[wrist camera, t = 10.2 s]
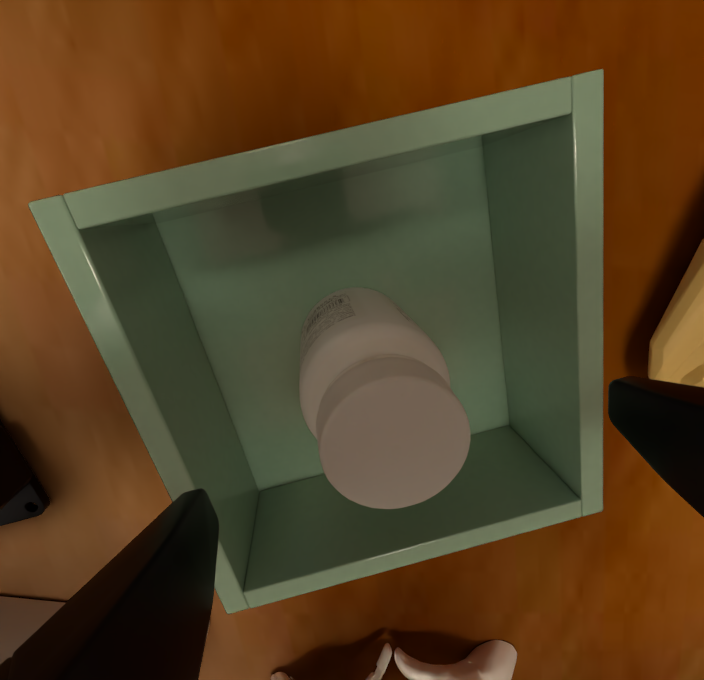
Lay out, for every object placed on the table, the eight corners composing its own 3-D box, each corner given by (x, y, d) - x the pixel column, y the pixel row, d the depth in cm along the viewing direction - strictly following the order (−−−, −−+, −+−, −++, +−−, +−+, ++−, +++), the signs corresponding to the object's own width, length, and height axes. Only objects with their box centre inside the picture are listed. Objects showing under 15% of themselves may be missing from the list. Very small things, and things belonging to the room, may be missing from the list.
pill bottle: (295, 383, 16) (287, 527, 9) (306, 279, 15) (308, 345, 7) (396, 391, 17) (467, 531, 9) (415, 292, 15) (516, 366, 8)
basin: (249, 500, 18) (226, 616, 13) (131, 205, 14) (24, 202, 8) (521, 428, 19) (603, 511, 13) (494, 120, 14) (604, 68, 9)
